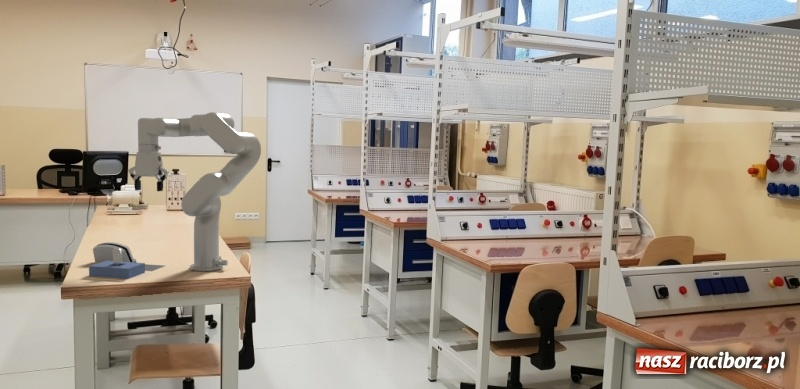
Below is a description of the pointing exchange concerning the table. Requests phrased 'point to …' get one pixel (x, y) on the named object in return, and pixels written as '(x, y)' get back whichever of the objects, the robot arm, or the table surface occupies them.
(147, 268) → the mat
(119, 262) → the peg
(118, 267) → the hole block
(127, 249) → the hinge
